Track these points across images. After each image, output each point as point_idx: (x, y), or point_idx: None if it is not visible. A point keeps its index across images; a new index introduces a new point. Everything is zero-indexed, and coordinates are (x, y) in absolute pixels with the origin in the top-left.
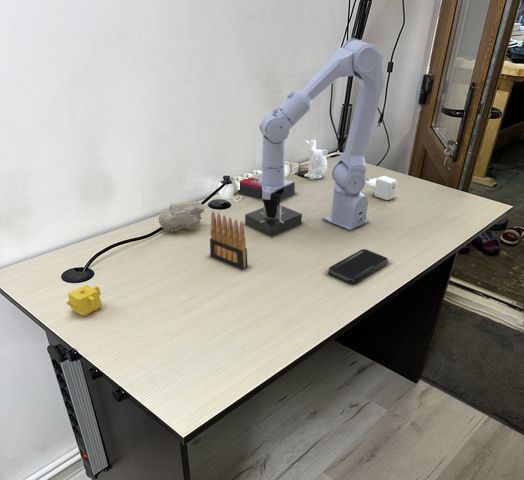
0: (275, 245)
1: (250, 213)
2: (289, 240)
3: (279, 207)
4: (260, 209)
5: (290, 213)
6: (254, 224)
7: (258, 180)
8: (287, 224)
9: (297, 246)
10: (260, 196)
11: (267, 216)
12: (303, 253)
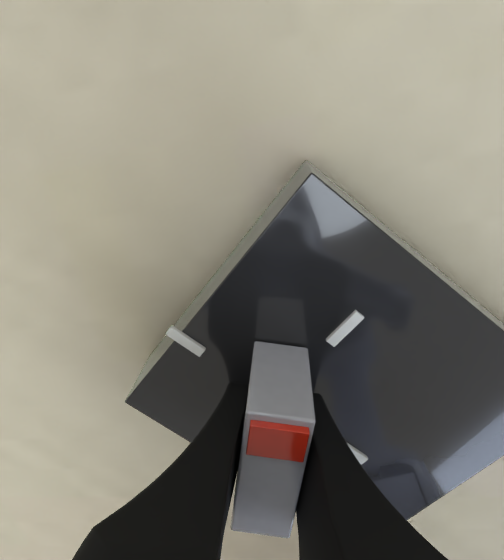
0: (53, 384)
1: (342, 221)
2: (135, 441)
3: (242, 528)
4: (442, 297)
5: None
6: (235, 254)
7: None
8: None
9: (82, 474)
10: (93, 530)
11: (227, 387)
12: (24, 495)
